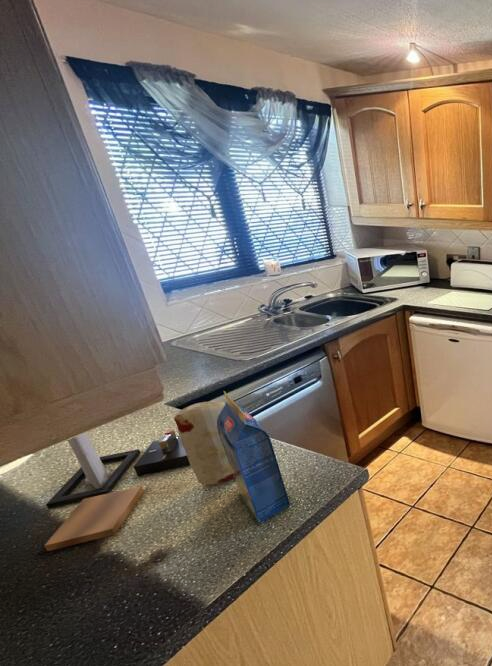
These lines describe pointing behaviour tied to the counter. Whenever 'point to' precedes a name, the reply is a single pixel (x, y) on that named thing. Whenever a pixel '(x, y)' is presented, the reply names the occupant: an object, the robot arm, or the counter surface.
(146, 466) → the panel
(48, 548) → the oak board
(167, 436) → the knob
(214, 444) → the food model
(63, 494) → the black rectangular frame
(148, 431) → the counter surface
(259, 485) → the blue food package
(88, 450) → the tall pale column
